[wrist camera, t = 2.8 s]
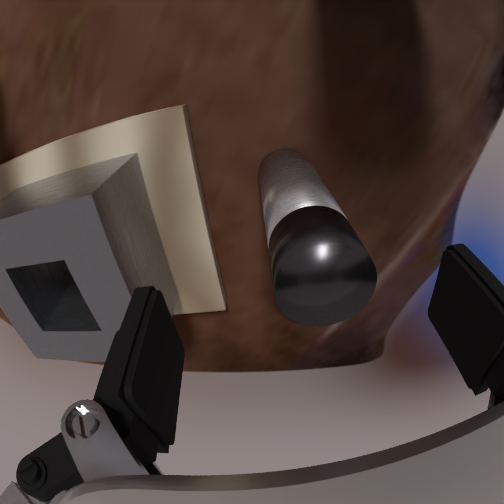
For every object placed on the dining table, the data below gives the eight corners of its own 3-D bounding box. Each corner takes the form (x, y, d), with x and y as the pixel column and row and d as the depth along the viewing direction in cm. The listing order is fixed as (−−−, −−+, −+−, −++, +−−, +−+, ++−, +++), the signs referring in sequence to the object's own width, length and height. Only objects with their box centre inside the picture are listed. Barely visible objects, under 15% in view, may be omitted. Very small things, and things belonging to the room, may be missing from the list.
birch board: (186, 104, 15) (182, 106, 14) (226, 299, 23) (225, 310, 22) (-9, 168, 16) (-18, 174, 15) (56, 311, 24) (51, 320, 23)
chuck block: (136, 152, 16) (91, 194, 11) (178, 293, 21) (163, 361, 16) (-23, 204, 16) (-70, 245, 11) (26, 304, 22) (-3, 353, 17)
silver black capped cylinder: (309, 146, 17) (382, 237, 8) (312, 196, 19) (370, 318, 10) (254, 151, 17) (270, 251, 8) (261, 201, 19) (278, 331, 10)
